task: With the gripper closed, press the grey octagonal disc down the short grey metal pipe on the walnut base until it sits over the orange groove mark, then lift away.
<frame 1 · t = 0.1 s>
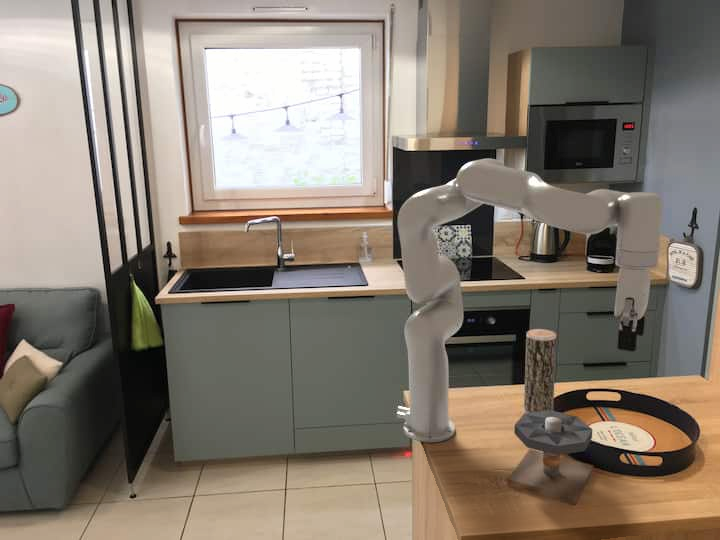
hand: (630, 341, 126), 31 cm above the counter, tool pointing down, fingers open, 9 cm apart
bark-covered log: (537, 431, 156), on the counter
pipe stand: (550, 478, 136), on the counter
grey octagonal disc: (552, 431, 133), point 11 cm above the counter, slide at 0.0 cm
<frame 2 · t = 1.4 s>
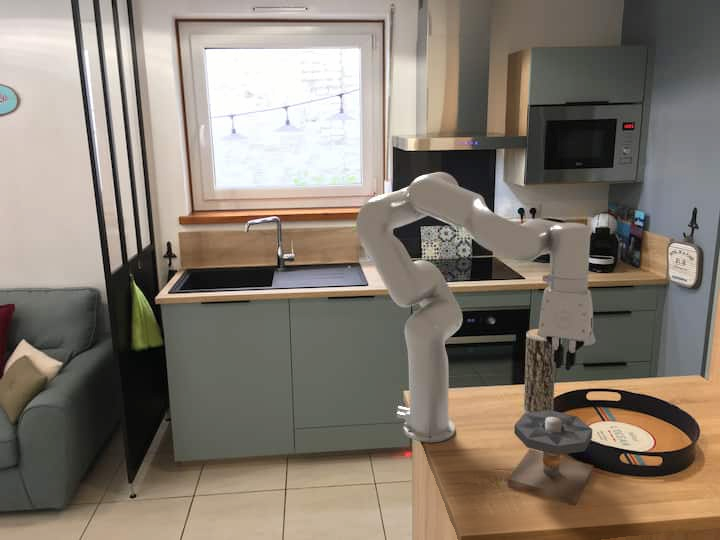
hand: (564, 366, 136), 23 cm above the counter, tool pointing down, fingers closed
nothing on the counter moved.
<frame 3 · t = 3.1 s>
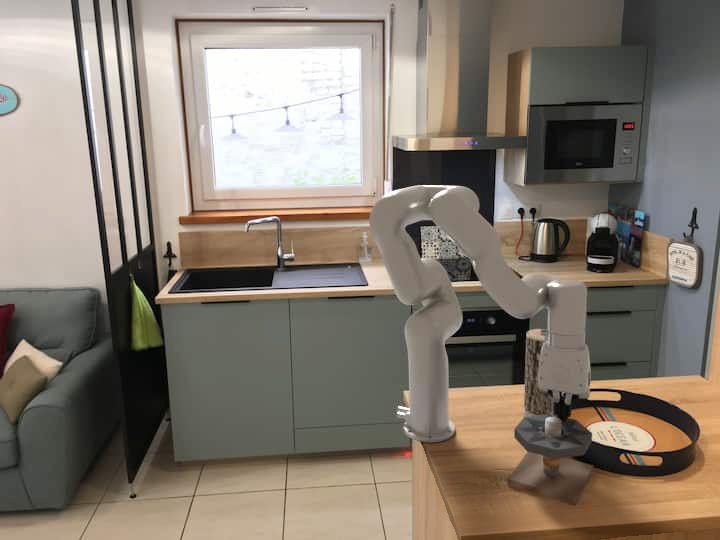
hand: (563, 418, 138), 11 cm above the counter, tool pointing down, fingers closed
grey octagonal disc: (552, 435, 134), point 10 cm above the counter, slide at 0.9 cm, touching gripper
everything else where it was.
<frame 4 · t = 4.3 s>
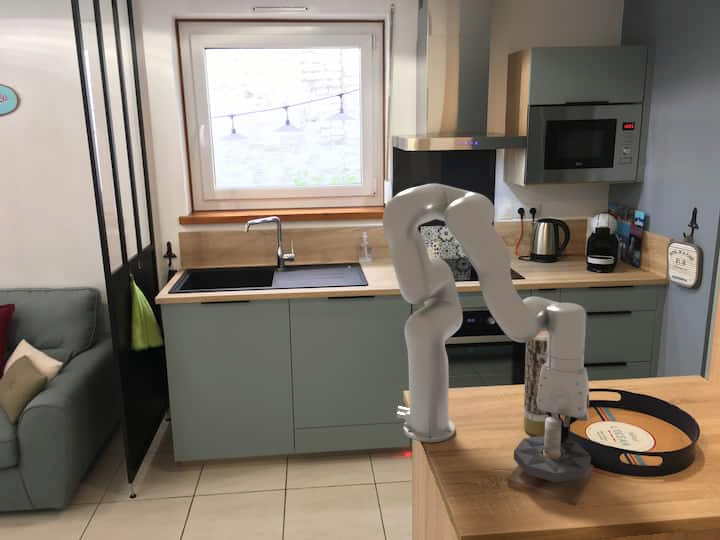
hand: (561, 439, 140), 6 cm above the counter, tool pointing down, fingers closed
grey octagonal disc: (551, 457, 135), point 5 cm above the counter, slide at 6.0 cm, touching gripper
everything else where it was.
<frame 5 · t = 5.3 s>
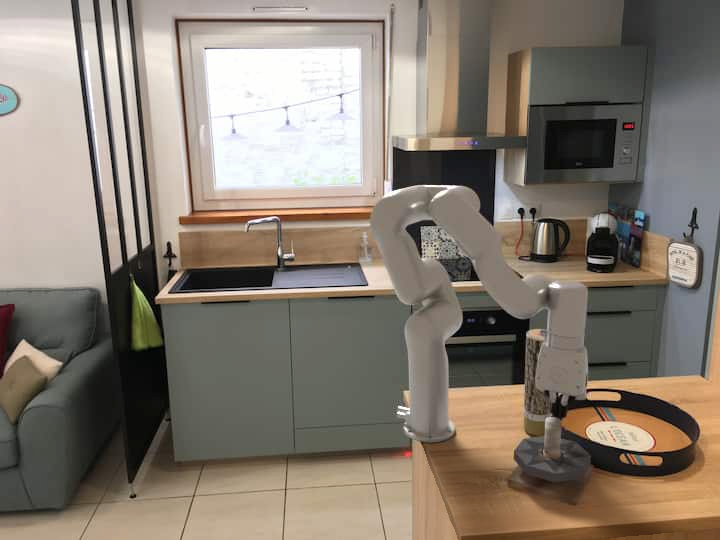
hand: (558, 418, 139), 11 cm above the counter, tool pointing down, fingers closed
grey octagonal disc: (551, 457, 135), point 5 cm above the counter, slide at 6.0 cm
everything else where it was.
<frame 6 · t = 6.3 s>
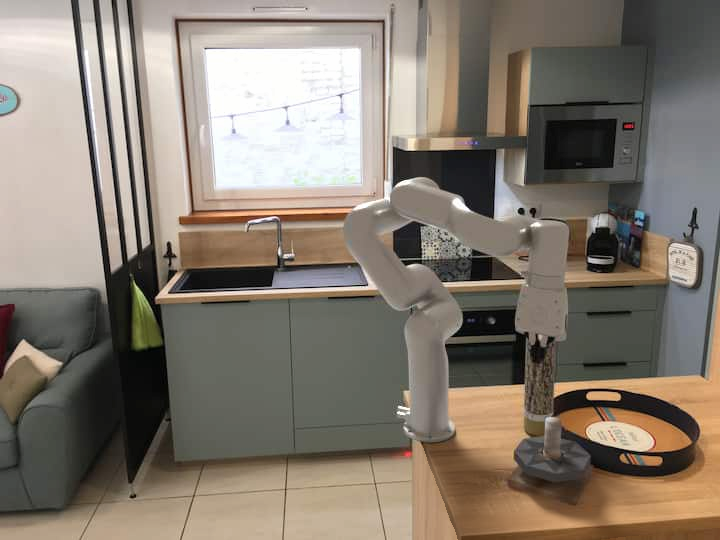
hand: (537, 361, 138), 23 cm above the counter, tool pointing down, fingers closed
nothing on the counter moved.
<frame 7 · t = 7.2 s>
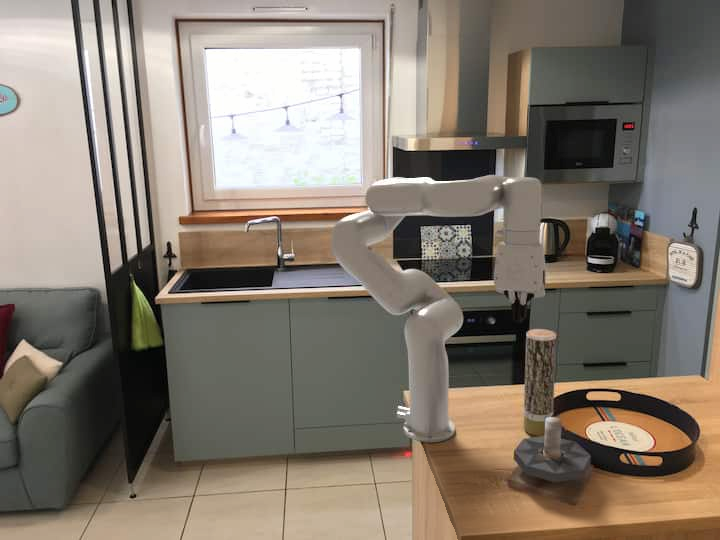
hand: (518, 320, 138), 32 cm above the counter, tool pointing down, fingers closed
nothing on the counter moved.
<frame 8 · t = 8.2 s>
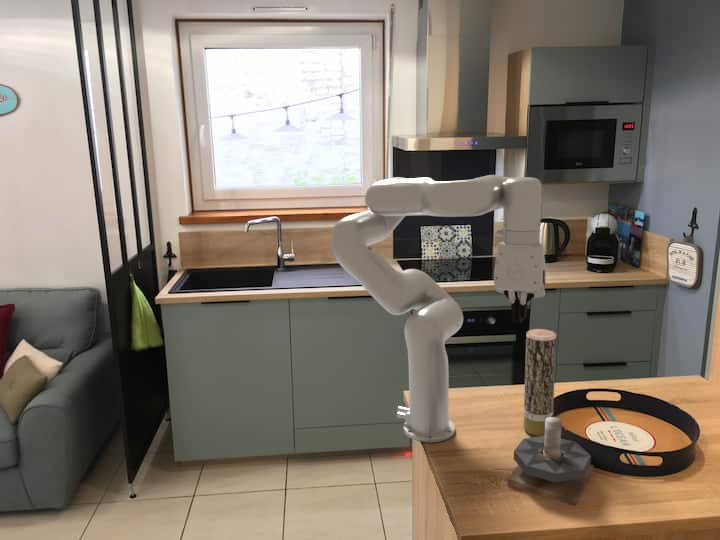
hand: (518, 320, 138), 32 cm above the counter, tool pointing down, fingers closed
nothing on the counter moved.
at the end: grey octagonal disc slide at 6.0 cm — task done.
